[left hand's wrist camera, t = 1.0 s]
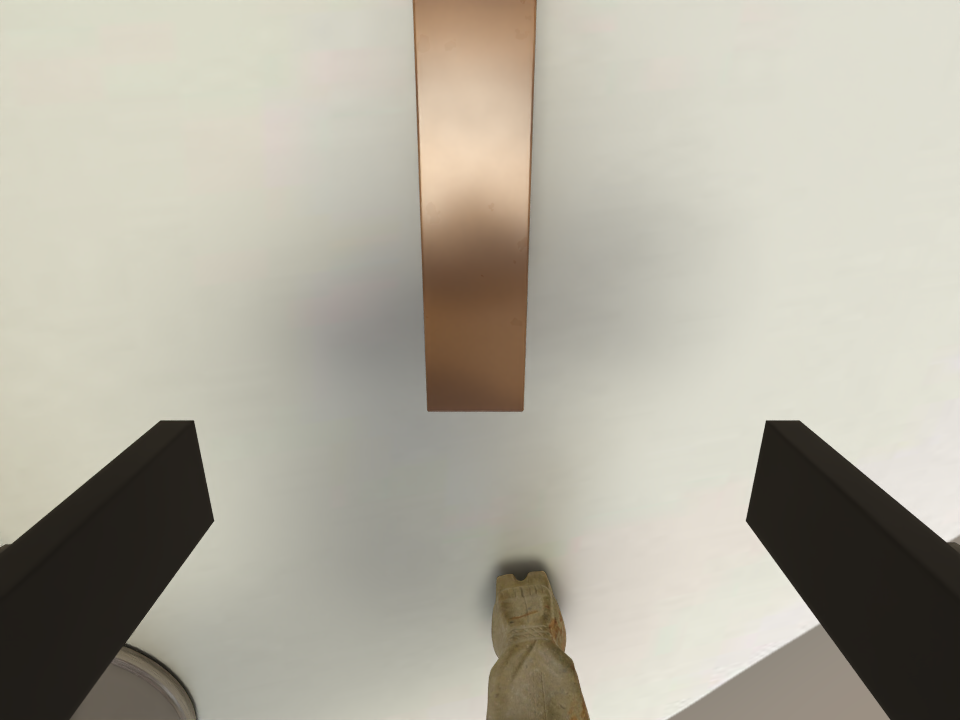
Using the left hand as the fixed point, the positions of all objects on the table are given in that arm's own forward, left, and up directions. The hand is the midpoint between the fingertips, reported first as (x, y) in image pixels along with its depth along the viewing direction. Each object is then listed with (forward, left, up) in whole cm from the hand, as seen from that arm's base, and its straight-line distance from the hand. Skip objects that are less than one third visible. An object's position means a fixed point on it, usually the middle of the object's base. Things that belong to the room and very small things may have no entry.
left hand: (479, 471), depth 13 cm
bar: (+5, +6, -20) cm, 21 cm away
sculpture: (-14, -18, -20) cm, 30 cm away
